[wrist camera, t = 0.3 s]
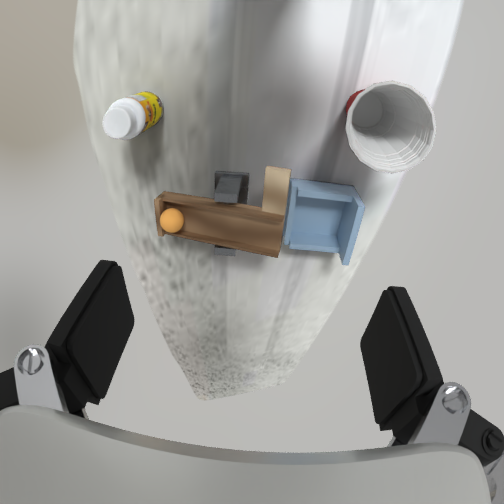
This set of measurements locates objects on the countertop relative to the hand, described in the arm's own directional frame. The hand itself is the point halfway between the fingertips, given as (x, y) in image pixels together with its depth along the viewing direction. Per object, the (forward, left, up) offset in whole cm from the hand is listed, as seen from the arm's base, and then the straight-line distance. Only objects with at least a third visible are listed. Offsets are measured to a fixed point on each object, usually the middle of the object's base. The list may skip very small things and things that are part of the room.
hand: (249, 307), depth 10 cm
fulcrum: (+14, -4, -35) cm, 38 cm away
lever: (+11, -5, -30) cm, 32 cm away
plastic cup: (-3, +14, -35) cm, 38 cm away
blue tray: (+14, +9, -35) cm, 39 cm away
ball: (+14, -12, -28) cm, 34 cm away
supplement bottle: (-1, -17, -35) cm, 39 cm away
